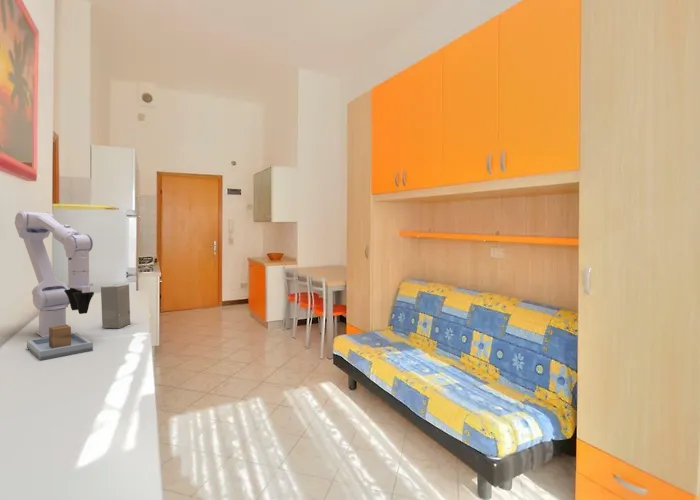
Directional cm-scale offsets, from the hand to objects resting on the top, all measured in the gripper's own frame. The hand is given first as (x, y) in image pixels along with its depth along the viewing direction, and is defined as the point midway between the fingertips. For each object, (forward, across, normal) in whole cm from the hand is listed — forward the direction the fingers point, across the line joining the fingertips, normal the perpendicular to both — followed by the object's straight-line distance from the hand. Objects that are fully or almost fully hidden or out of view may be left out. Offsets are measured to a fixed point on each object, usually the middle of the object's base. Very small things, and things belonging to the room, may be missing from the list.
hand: (79, 311), depth 134 cm
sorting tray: (+9, -8, +8) cm, 14 cm away
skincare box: (+10, +11, -15) cm, 21 cm away
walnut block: (+8, -8, +7) cm, 14 cm away
